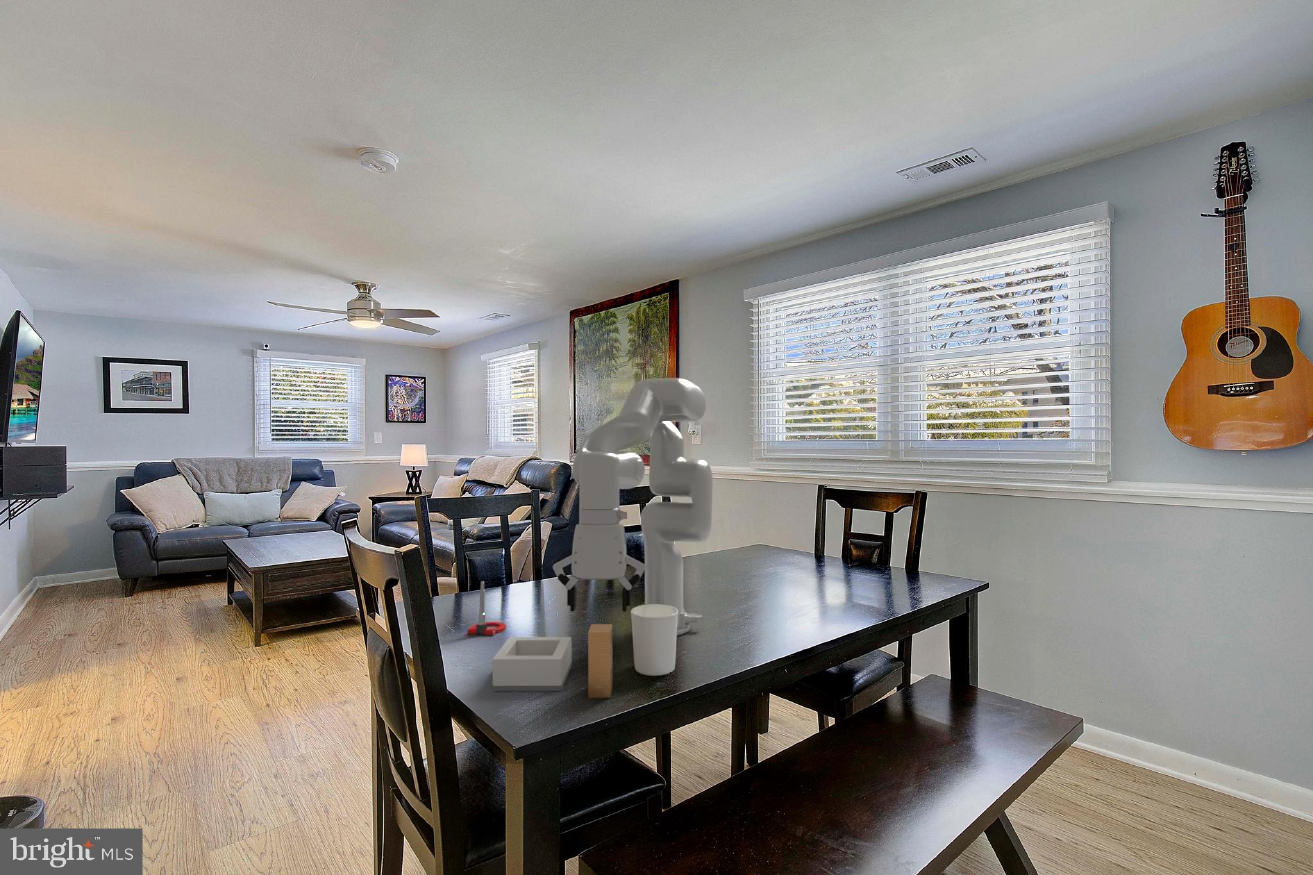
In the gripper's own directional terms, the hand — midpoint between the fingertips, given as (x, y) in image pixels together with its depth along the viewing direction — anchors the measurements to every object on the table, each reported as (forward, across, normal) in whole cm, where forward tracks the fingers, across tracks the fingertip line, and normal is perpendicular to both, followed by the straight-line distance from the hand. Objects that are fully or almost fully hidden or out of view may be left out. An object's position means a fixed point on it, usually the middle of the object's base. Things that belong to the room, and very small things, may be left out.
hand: (599, 609), depth 116 cm
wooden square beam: (+16, 0, -1) cm, 16 cm away
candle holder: (+16, -10, -13) cm, 23 cm away
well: (+16, +14, -8) cm, 22 cm away
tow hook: (+15, +32, -39) cm, 52 cm away
